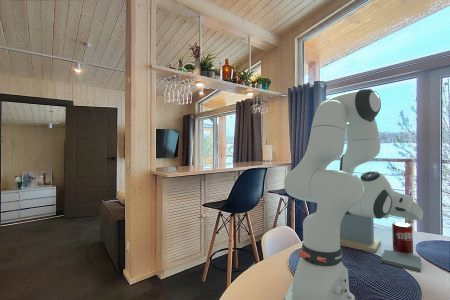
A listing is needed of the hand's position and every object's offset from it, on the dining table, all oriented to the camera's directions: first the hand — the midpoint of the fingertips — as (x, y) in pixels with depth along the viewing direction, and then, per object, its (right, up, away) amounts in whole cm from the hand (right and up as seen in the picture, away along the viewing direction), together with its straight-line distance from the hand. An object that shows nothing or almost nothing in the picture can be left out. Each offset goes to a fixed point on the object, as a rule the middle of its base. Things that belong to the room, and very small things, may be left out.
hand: (398, 219), depth 100 cm
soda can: (+3, -15, +1) cm, 15 cm away
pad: (-5, -15, -8) cm, 17 cm away
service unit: (-12, -15, +12) cm, 23 cm away
